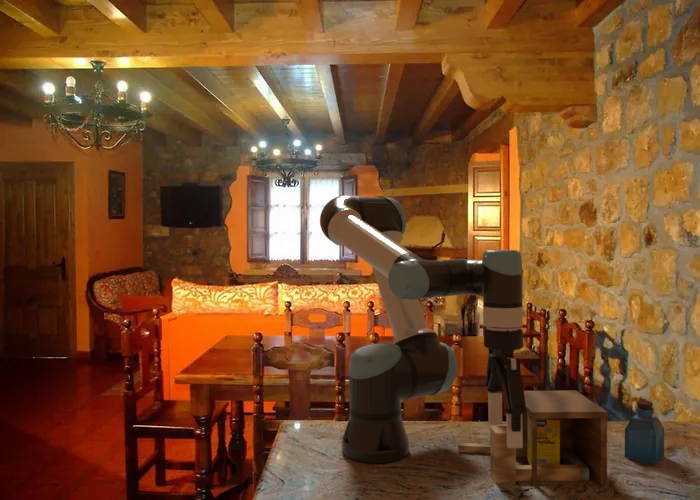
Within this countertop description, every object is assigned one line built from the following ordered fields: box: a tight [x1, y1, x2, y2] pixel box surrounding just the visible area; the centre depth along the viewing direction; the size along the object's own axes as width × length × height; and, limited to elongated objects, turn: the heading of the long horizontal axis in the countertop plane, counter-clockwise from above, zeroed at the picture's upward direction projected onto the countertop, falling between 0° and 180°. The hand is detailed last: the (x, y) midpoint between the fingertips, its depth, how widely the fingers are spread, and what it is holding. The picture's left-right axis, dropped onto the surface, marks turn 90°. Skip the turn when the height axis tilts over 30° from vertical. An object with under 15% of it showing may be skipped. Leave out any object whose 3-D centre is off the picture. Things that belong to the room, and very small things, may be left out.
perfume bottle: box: [624, 399, 665, 466], centre depth 122 cm, size 6×6×12 cm
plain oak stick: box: [457, 442, 490, 455], centre depth 125 cm, size 12×2×2 cm, turn 81°
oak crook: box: [489, 425, 590, 485], centre depth 115 cm, size 19×12×10 cm, turn 90°
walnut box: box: [515, 389, 608, 486], centre depth 116 cm, size 14×15×14 cm
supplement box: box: [526, 414, 561, 465], centre depth 117 cm, size 6×6×11 cm
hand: (504, 435), depth 111 cm, fingers open, 13 cm apart
